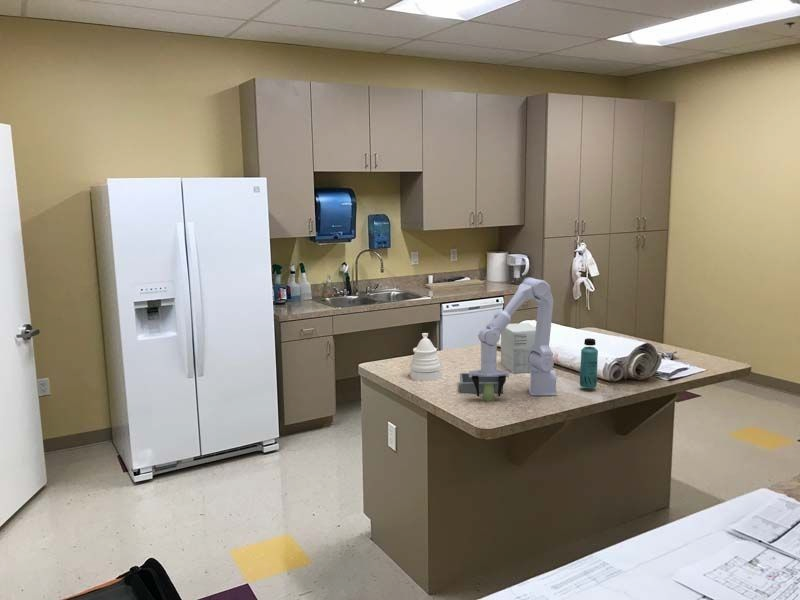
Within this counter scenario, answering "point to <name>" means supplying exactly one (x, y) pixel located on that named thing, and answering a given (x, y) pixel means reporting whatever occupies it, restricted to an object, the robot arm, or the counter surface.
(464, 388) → the bin
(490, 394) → the cucumber chunk
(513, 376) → the counter surface
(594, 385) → the beverage bottle
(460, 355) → the counter surface
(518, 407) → the counter surface
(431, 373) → the honey pot
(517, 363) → the supplement box
